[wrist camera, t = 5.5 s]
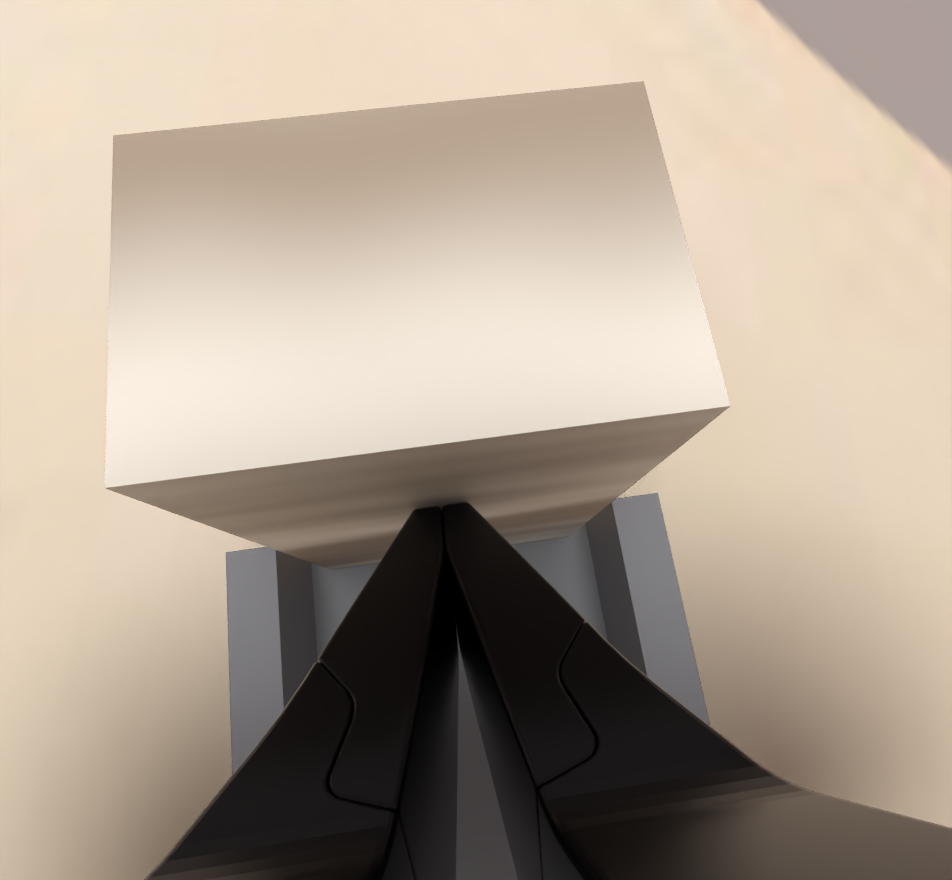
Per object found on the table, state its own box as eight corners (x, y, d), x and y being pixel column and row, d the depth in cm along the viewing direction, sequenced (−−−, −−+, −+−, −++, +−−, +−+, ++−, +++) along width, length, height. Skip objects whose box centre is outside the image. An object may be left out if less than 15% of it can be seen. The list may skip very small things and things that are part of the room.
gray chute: (774, 1180, 13) (895, 1401, 9) (291, 1277, 12) (219, 1551, 9) (634, 518, 17) (680, 489, 13) (260, 570, 16) (201, 555, 13)
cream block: (568, 536, 16) (730, 406, 6) (331, 569, 15) (104, 488, 6) (542, 389, 17) (643, 81, 7) (319, 417, 16) (113, 135, 7)
